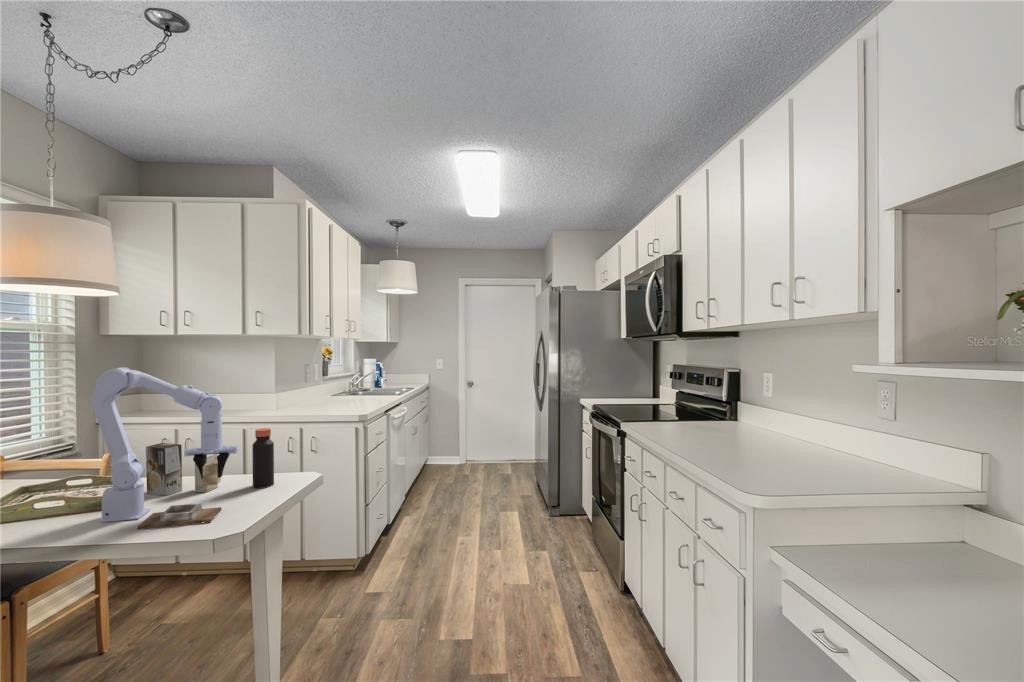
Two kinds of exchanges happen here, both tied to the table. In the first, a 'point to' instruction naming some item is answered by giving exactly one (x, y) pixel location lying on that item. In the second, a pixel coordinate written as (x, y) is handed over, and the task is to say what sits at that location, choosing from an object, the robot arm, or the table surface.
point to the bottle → (263, 459)
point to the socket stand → (180, 516)
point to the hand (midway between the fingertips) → (211, 477)
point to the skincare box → (199, 481)
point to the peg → (210, 474)
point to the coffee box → (164, 468)
